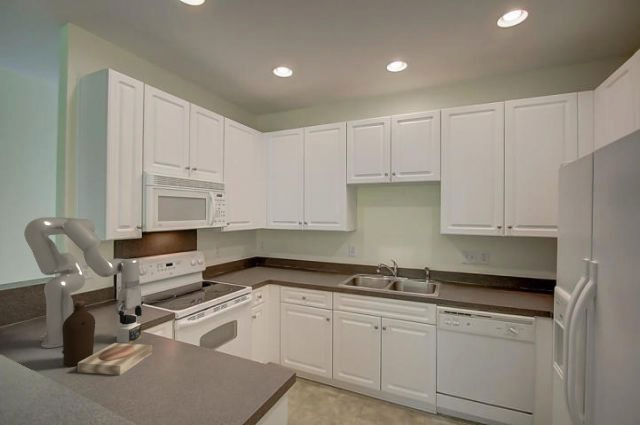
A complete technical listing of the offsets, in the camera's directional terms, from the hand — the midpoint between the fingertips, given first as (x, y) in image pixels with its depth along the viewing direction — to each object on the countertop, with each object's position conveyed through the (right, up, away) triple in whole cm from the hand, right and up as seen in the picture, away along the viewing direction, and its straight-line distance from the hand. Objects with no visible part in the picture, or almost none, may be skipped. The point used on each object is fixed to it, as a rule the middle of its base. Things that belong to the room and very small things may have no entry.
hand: (131, 319), depth 143 cm
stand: (+8, -10, -21) cm, 25 cm away
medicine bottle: (-1, -10, 0) cm, 10 cm away
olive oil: (-8, -10, -21) cm, 25 cm away
